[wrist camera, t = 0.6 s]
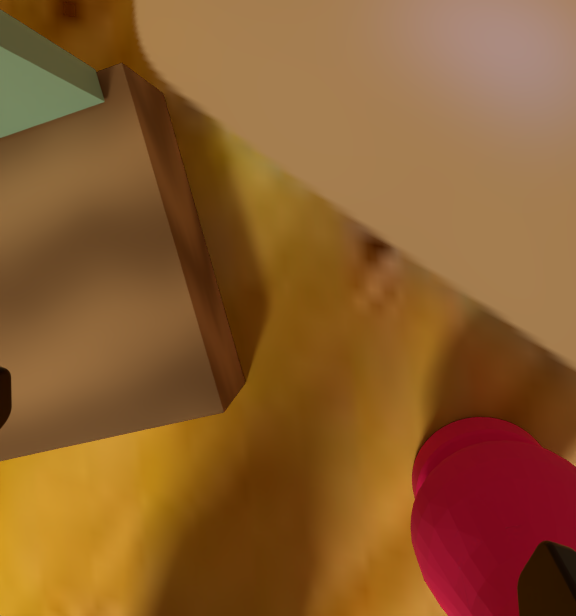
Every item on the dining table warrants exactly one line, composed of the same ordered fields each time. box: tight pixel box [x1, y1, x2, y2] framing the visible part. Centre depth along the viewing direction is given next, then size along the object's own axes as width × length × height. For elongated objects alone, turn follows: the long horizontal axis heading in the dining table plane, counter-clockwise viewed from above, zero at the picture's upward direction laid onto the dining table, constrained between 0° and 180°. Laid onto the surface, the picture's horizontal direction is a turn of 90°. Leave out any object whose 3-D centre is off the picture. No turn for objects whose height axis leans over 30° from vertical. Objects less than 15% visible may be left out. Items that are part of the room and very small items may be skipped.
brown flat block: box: [0, 63, 245, 461], centre depth 22 cm, size 14×16×4 cm
